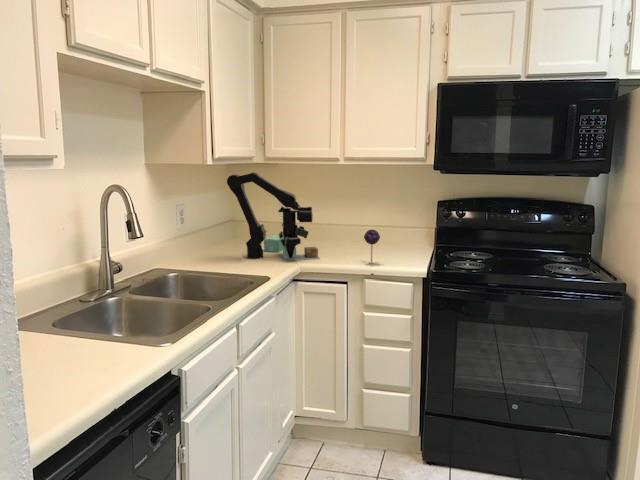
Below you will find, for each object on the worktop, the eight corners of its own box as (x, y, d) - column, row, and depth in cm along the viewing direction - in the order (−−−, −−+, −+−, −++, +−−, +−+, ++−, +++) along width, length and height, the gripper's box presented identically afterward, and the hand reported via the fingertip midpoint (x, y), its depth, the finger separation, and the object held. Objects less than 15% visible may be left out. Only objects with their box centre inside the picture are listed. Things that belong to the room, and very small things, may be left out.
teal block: (285, 259, 236) (285, 248, 235) (282, 257, 240) (282, 246, 240) (296, 258, 237) (296, 247, 236) (293, 256, 242) (293, 245, 241)
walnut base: (307, 258, 238) (307, 249, 238) (304, 255, 243) (304, 247, 242) (317, 257, 240) (317, 248, 239) (315, 255, 244) (315, 246, 244)
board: (285, 263, 232) (285, 260, 232) (280, 257, 244) (280, 255, 244) (321, 261, 237) (321, 259, 236) (314, 255, 248) (314, 253, 248)
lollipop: (381, 263, 233) (382, 229, 231) (375, 266, 228) (376, 231, 225) (367, 261, 237) (368, 227, 234) (360, 264, 231) (361, 229, 228)
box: (263, 254, 252) (263, 238, 251) (273, 249, 265) (273, 234, 264) (278, 255, 250) (278, 239, 249) (287, 249, 263) (287, 235, 262)
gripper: (312, 224, 229) (312, 260, 232) (302, 218, 247) (302, 251, 250) (286, 225, 226) (286, 261, 229) (278, 219, 244) (278, 253, 247)
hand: (289, 256), depth 239 cm, fingers closed on teal block, 5 cm apart
